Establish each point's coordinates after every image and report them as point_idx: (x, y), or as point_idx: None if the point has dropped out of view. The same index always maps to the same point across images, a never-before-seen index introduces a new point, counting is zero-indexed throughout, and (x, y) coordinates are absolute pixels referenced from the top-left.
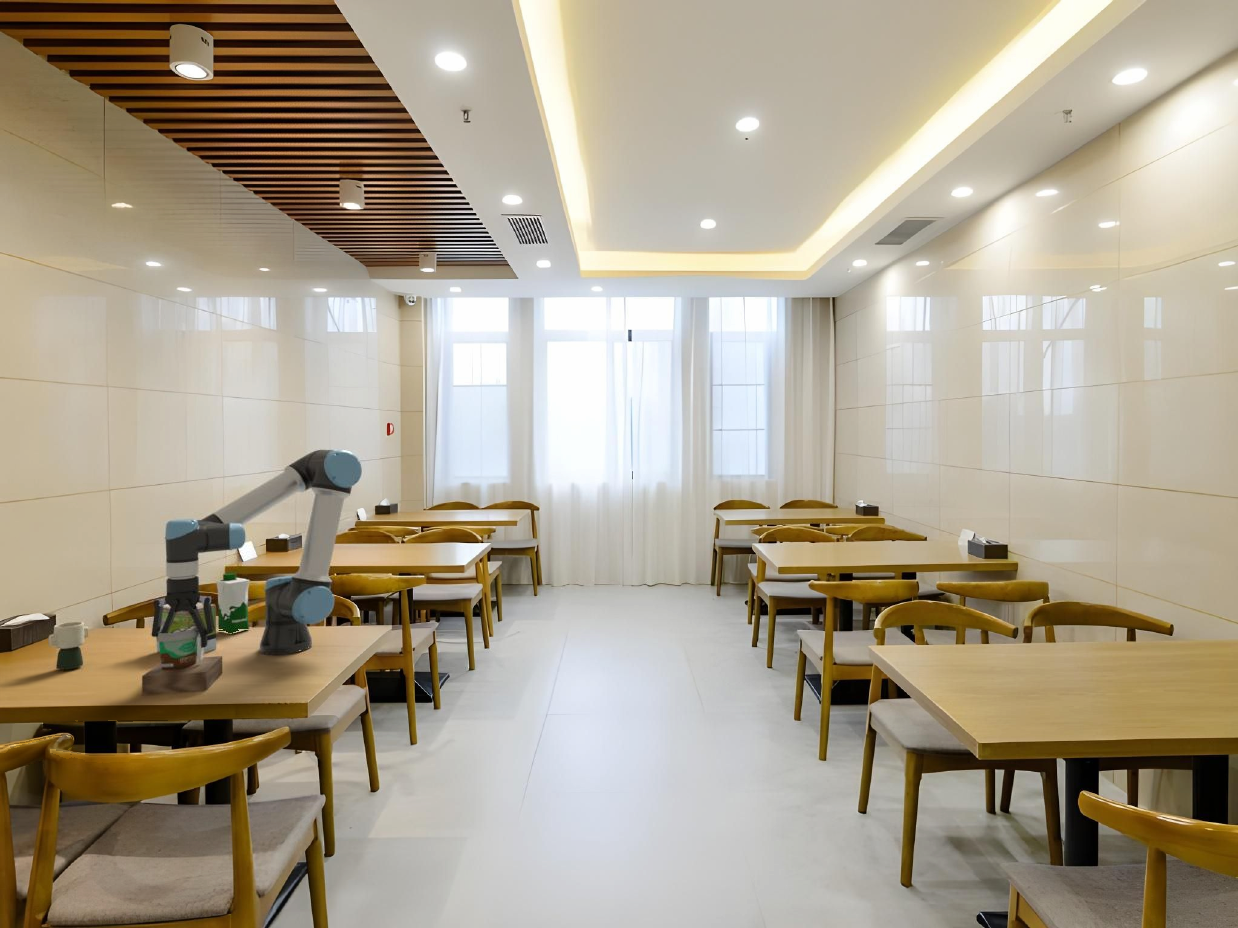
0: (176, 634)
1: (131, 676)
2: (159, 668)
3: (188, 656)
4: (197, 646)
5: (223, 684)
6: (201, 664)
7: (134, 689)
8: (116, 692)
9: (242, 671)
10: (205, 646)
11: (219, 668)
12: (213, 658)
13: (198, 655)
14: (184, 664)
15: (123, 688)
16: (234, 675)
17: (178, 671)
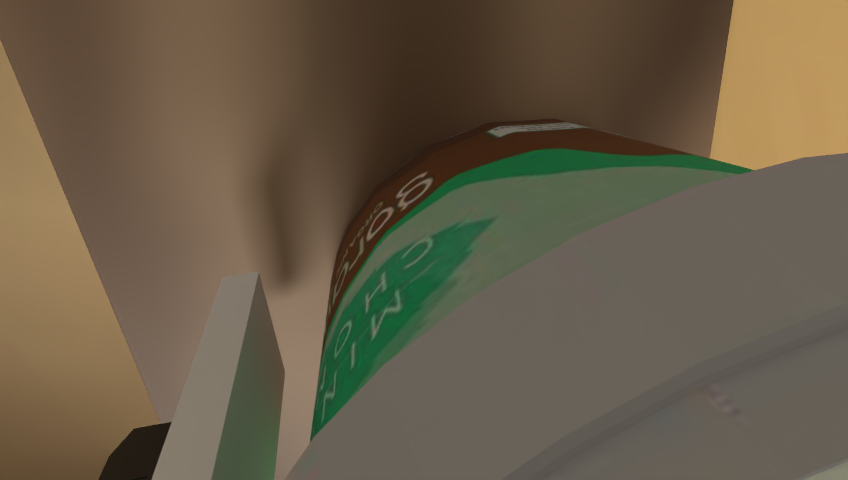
0: (704, 409)
1: None
2: None
3: (354, 266)
4: (227, 399)
5: (33, 148)
6: None
7: (718, 106)
8: (823, 49)
9: (98, 443)
10: (123, 441)
11: None
12: None
13: (237, 309)
14: (382, 191)
15: (791, 141)
16: (100, 365)
17: (390, 47)
